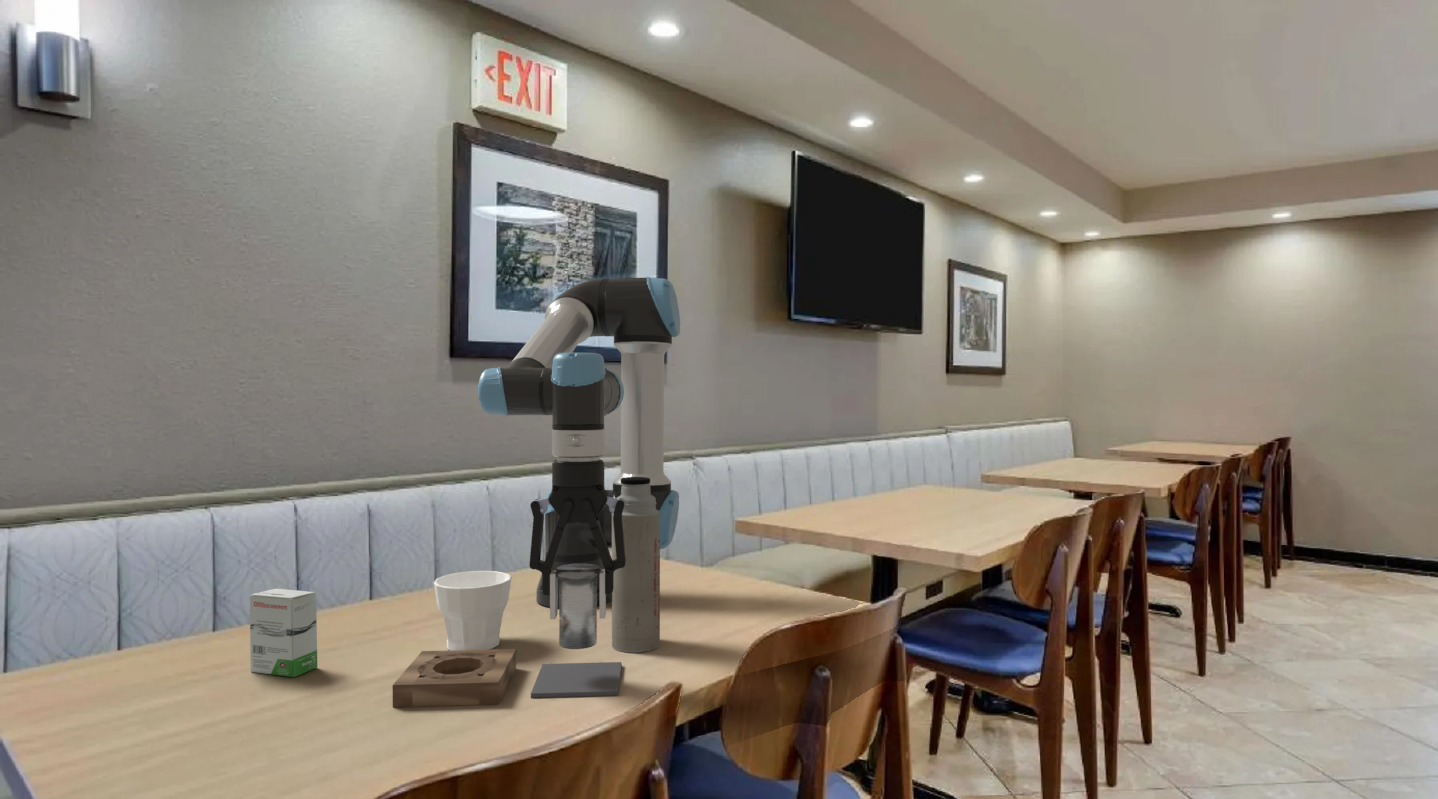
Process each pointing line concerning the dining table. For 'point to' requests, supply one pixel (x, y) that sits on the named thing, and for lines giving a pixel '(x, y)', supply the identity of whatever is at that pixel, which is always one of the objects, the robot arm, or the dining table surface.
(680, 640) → the dining table surface
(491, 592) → the cup
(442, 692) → the block
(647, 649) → the thermos bottle
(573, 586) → the glass jar
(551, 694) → the mat
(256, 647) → the ink box
